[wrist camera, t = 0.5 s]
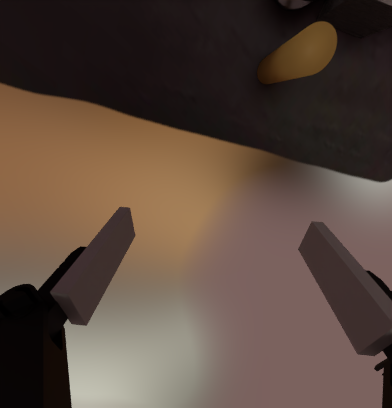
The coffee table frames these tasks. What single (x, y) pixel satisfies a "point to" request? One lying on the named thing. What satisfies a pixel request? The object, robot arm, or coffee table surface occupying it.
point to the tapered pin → (300, 55)
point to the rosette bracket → (350, 14)
